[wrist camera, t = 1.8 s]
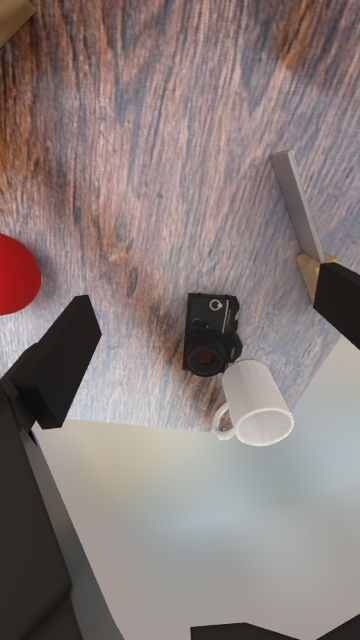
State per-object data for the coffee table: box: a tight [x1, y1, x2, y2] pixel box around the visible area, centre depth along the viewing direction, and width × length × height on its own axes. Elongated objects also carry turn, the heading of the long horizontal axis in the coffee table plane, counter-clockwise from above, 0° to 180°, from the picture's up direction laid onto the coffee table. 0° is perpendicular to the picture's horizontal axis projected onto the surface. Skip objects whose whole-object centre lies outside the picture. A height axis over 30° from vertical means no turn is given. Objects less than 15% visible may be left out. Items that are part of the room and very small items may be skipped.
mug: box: [210, 360, 294, 446], centre depth 38 cm, size 8×12×10 cm
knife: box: [270, 149, 338, 304], centre depth 28 cm, size 20×2×5 cm, turn 31°
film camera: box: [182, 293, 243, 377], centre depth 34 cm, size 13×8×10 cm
